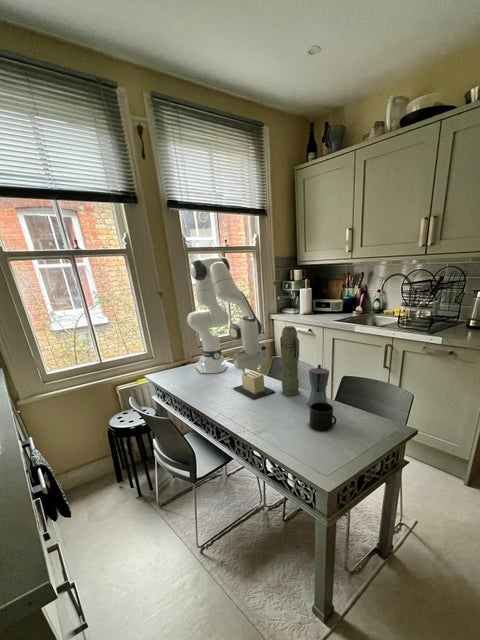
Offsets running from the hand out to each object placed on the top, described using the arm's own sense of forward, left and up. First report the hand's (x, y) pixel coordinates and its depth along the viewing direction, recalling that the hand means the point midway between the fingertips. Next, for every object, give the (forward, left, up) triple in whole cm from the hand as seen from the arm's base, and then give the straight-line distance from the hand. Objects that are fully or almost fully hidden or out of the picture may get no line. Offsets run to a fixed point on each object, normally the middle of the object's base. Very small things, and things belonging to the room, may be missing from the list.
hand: (252, 373), depth 171 cm
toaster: (0, 0, -9) cm, 9 cm away
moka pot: (+37, +13, -10) cm, 41 cm away
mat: (0, 0, -10) cm, 10 cm away
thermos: (+16, +13, -10) cm, 23 cm away
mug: (+54, -1, -10) cm, 55 cm away
